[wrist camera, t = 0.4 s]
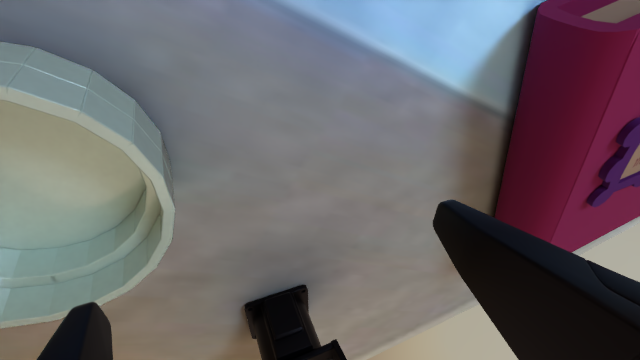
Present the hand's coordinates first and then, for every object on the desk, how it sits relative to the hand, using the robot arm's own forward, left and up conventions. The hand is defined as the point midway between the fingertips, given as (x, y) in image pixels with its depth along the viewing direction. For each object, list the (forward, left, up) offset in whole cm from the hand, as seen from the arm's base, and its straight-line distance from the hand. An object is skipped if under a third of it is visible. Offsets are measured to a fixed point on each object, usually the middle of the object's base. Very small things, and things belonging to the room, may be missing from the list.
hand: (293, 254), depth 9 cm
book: (-10, -36, -15) cm, 40 cm away
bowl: (-5, +11, -14) cm, 19 cm away
